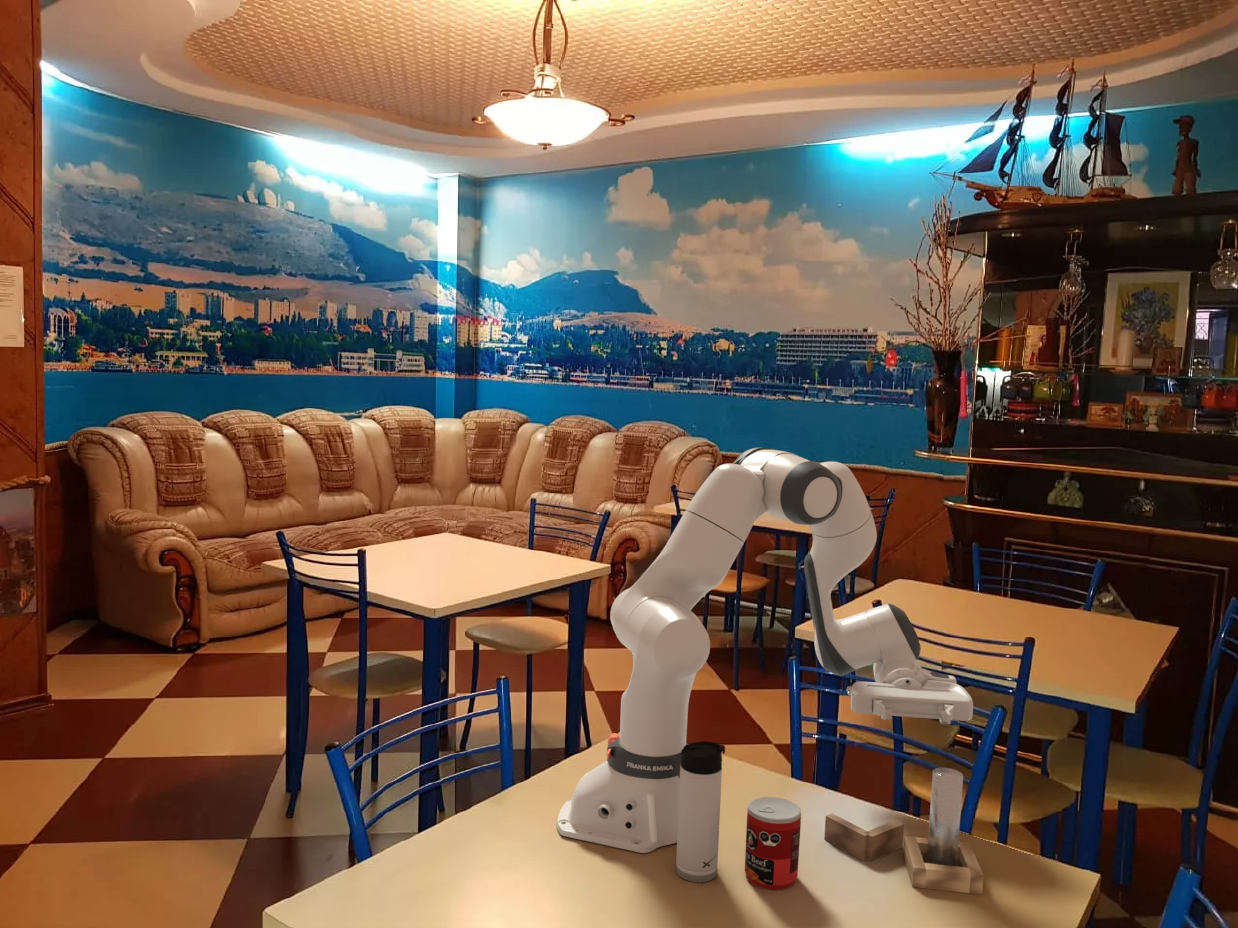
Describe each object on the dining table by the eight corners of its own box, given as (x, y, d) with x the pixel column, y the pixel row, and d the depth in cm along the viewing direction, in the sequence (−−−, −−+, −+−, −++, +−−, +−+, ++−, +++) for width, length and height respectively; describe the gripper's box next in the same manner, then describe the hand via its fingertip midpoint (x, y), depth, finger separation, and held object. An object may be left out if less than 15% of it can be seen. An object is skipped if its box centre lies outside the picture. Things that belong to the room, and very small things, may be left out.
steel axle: (928, 879, 143) (935, 777, 142) (923, 864, 147) (930, 766, 146) (958, 882, 142) (965, 780, 141) (952, 867, 147) (960, 768, 145)
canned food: (734, 869, 144) (738, 800, 143) (779, 860, 147) (782, 792, 146) (761, 895, 137) (765, 822, 136) (807, 885, 140) (811, 814, 139)
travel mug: (717, 885, 139) (723, 755, 137) (673, 879, 140) (678, 750, 138) (721, 864, 145) (727, 739, 143) (678, 859, 146) (684, 734, 145)
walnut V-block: (826, 855, 149) (827, 831, 149) (823, 835, 156) (825, 812, 155) (907, 864, 147) (909, 840, 147) (901, 844, 154) (903, 820, 153)
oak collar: (912, 886, 141) (913, 867, 140) (902, 853, 151) (904, 835, 150) (982, 894, 139) (983, 875, 139) (967, 860, 149) (969, 842, 149)
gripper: (846, 669, 171) (853, 694, 157) (963, 676, 167) (981, 703, 154) (844, 702, 171) (851, 731, 158) (961, 710, 168) (979, 740, 154)
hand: (916, 717), depth 156 cm, fingers open, 8 cm apart
